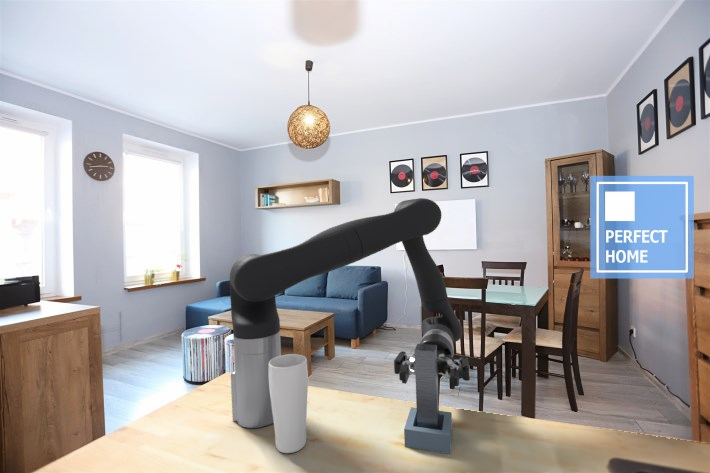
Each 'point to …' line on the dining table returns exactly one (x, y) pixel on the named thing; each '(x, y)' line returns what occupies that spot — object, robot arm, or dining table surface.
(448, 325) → the robot arm
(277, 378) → the drinking glass
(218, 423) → the dining table surface
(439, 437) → the socket block
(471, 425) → the dining table surface
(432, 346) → the square bit
